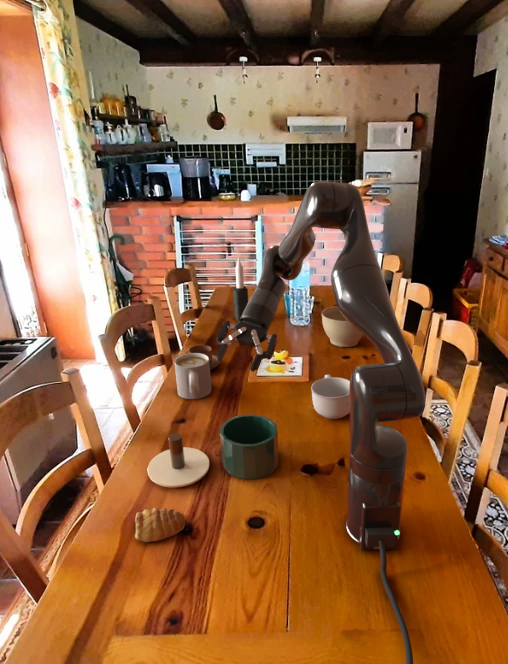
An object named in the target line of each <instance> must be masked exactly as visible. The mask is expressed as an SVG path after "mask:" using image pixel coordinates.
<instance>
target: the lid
mask: <svg viewBox="0 0 508 664" xmlns="http://www.w3.org/2000/svg"><path fill="white" fill-rule="evenodd" d="M167 437H168V438H167V440H168V447H169V449H166V450H163V451H161V452H160V453H158V454H156V455H155V456H154V457H152V459H151V460H150V461H149V463H148V465H147V470H146V471H147V476H148V478H149V479H150V480H151V481H152V482H153V483H155V484H156V485H158V486H161V487H165V488H181V487H186V486H190V485H193V484H195V483H197V482H198V481H200V480H201V479H203V478H204V477H205V476H206V474H208V472H209V469H210V459H209V457H208V455H207V454H205V452H203V451H202V450H200V449H197V448H193V447H187V446H186V447H185V446H184V441H183V440H184V439H183V435H182V434H181V433H180V432H179V433H178V432H174V433H171V434H169V435H168V436H167Z"/></svg>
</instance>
